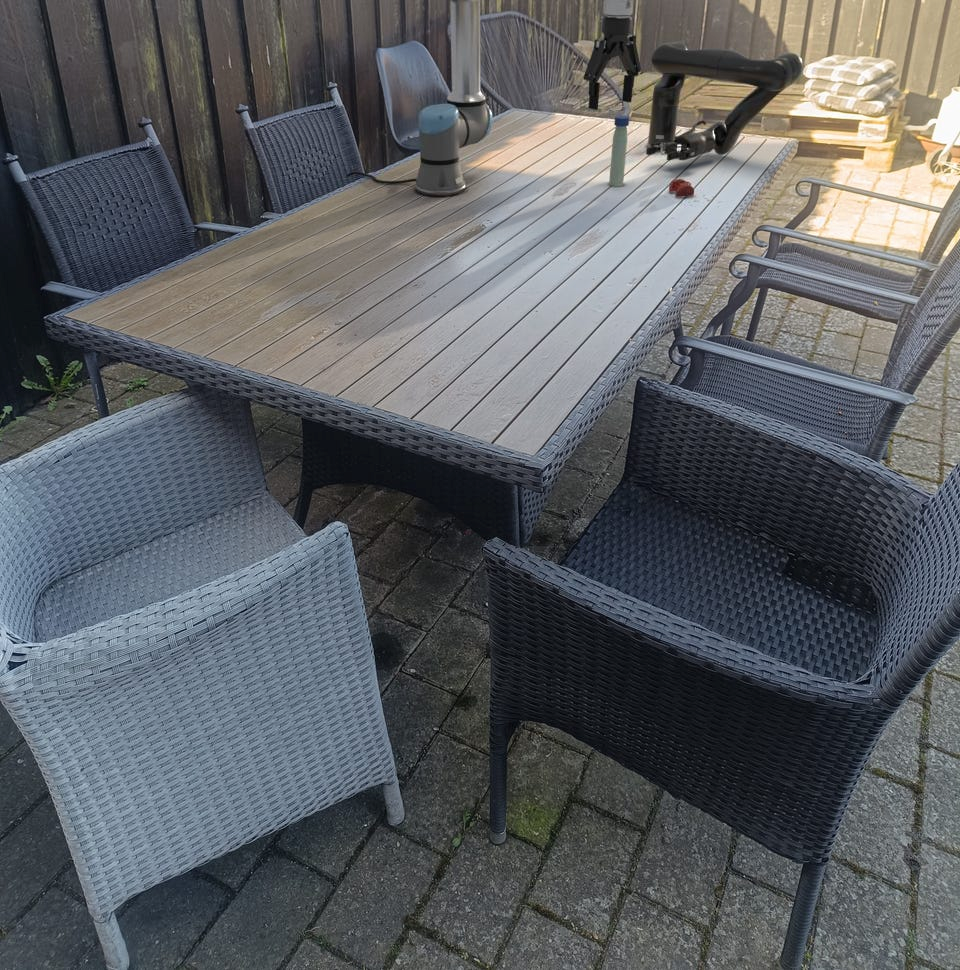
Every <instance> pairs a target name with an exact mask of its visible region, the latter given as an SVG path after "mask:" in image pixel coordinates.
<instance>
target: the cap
mask: <svg viewBox="0 0 960 970" xmlns="http://www.w3.org/2000/svg"><path fill="white" fill-rule="evenodd" d="M629 125H630V116H628V115H625V114H624V115H623V114H622V115H621V114H620V115H619V114H618V115H615V116H614V126H615V127H616V126H620V127H625V126H626V127H628V126H629Z"/></svg>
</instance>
